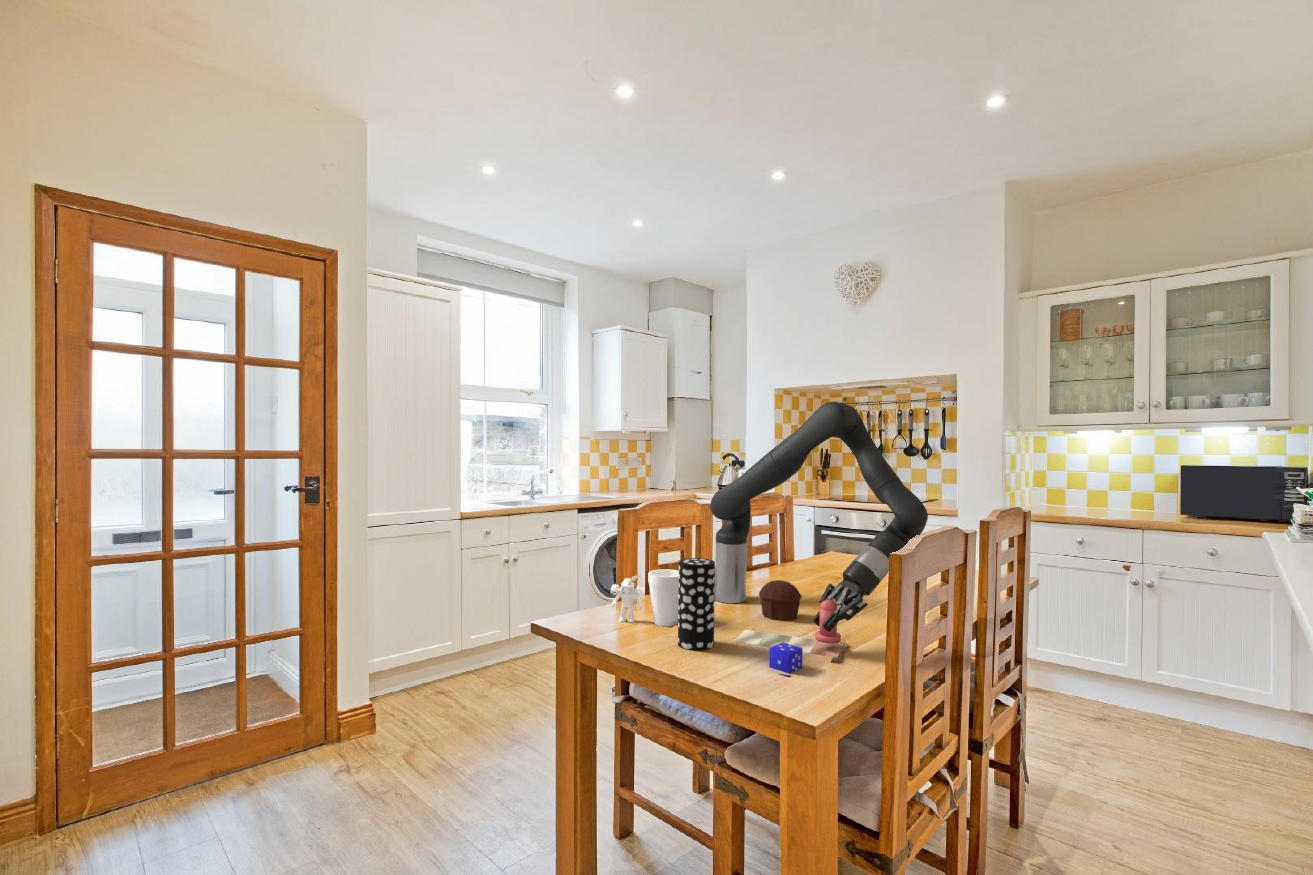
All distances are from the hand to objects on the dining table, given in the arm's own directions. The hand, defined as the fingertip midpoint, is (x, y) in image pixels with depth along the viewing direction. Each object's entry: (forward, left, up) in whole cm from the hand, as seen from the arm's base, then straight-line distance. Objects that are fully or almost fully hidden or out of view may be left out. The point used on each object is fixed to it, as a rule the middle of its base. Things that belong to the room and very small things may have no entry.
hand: (820, 625), depth 144 cm
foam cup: (-41, +5, -6) cm, 41 cm away
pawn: (+2, +1, -3) cm, 4 cm away
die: (-5, -15, -6) cm, 17 cm away
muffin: (-15, +22, -6) cm, 27 cm away
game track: (-8, +1, -6) cm, 10 cm away
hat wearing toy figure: (-51, +2, -6) cm, 51 cm away
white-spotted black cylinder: (-27, -10, -6) cm, 29 cm away
